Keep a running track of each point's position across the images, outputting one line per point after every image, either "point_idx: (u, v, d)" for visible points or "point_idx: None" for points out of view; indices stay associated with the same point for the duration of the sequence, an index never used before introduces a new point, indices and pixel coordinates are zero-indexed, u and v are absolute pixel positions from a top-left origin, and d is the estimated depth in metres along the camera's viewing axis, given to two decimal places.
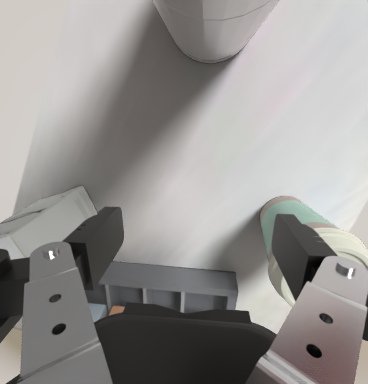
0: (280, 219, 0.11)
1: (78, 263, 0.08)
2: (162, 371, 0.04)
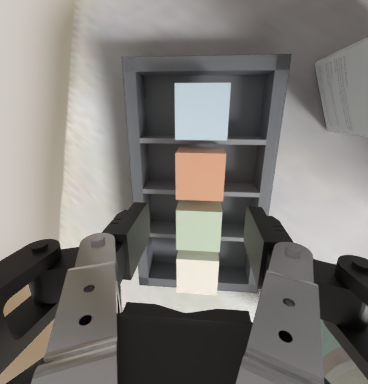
0: (248, 211, 0.11)
1: (120, 253, 0.09)
2: (162, 371, 0.04)
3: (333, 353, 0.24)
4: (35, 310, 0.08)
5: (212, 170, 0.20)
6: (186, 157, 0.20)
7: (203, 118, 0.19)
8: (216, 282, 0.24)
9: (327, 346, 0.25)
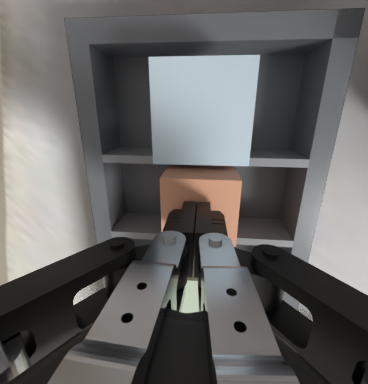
0: (197, 206, 0.12)
1: None
2: (162, 371, 0.04)
3: None
4: (105, 304, 0.08)
5: (218, 206, 0.13)
6: (177, 185, 0.12)
7: (205, 126, 0.10)
8: None
9: None
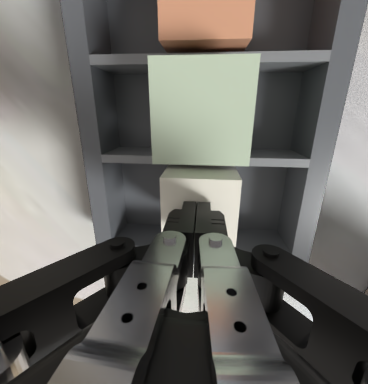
0: (197, 206, 0.12)
1: None
2: (162, 371, 0.04)
3: None
4: (105, 304, 0.08)
5: None
6: None
7: None
8: (235, 225, 0.13)
9: None
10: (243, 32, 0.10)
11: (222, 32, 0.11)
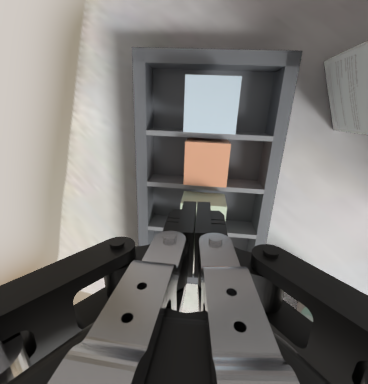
0: (197, 206, 0.12)
1: None
2: (162, 371, 0.04)
3: None
4: (105, 303, 0.08)
5: (217, 159, 0.22)
6: (195, 146, 0.22)
7: (213, 111, 0.19)
8: None
9: None
10: (222, 185, 0.23)
11: (213, 184, 0.23)
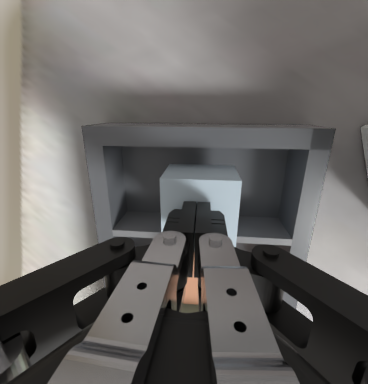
0: (197, 206, 0.12)
1: None
2: (162, 371, 0.04)
3: None
4: (105, 304, 0.08)
5: None
6: None
7: None
8: None
9: None
10: None
11: None
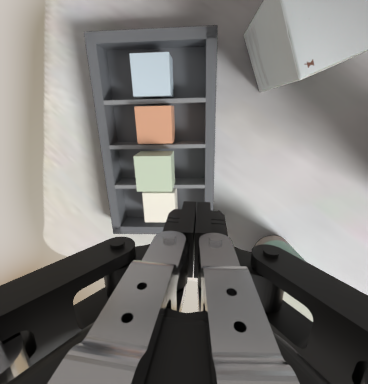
0: (197, 206, 0.12)
1: None
2: (162, 371, 0.04)
3: None
4: (105, 304, 0.08)
5: (162, 119, 0.27)
6: (142, 109, 0.27)
7: (152, 79, 0.26)
8: None
9: None
10: (169, 141, 0.28)
11: (161, 141, 0.28)
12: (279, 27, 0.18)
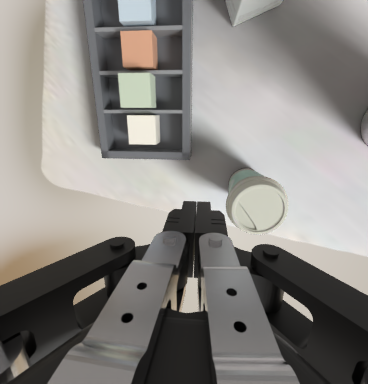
0: (197, 206, 0.12)
1: None
2: (162, 371, 0.04)
3: (235, 185, 0.33)
4: (105, 304, 0.08)
5: (144, 43, 0.31)
6: (127, 34, 0.31)
7: (135, 5, 0.30)
8: (154, 133, 0.35)
9: (233, 185, 0.34)
10: (150, 64, 0.32)
11: (143, 64, 0.32)
12: None
